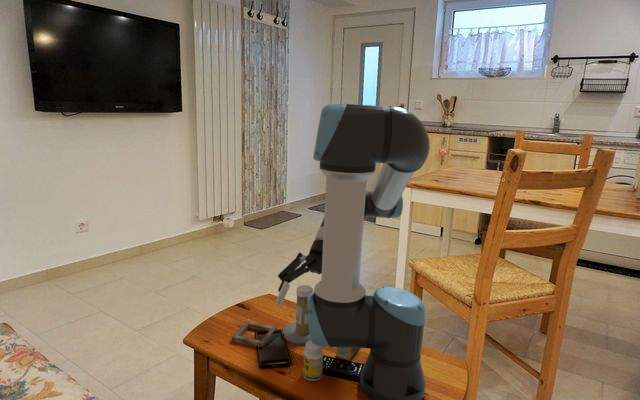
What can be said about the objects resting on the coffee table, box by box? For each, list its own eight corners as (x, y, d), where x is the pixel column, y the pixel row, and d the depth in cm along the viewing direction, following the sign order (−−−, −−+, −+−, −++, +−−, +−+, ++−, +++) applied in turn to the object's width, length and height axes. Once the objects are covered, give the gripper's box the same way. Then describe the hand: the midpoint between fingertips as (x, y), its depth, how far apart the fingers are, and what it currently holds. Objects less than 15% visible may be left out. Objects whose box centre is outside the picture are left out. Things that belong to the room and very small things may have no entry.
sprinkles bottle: (311, 335, 118) (313, 291, 116) (295, 335, 118) (297, 291, 115) (309, 327, 123) (311, 284, 120) (294, 327, 122) (295, 284, 119)
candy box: (350, 361, 109) (353, 307, 106) (335, 356, 111) (338, 302, 108) (363, 345, 116) (367, 294, 113) (349, 341, 118) (352, 290, 115)
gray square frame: (276, 331, 122) (276, 327, 121) (262, 348, 113) (262, 343, 112) (247, 325, 124) (247, 321, 124) (231, 341, 115) (231, 336, 115)
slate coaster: (325, 329, 124) (325, 326, 124) (313, 348, 114) (313, 344, 114) (291, 322, 127) (291, 319, 127) (276, 340, 117) (276, 336, 117)
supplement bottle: (300, 371, 104) (301, 340, 102) (318, 368, 105) (320, 337, 103) (305, 383, 99) (307, 350, 97) (324, 380, 101) (326, 348, 99)
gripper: (366, 258, 124) (342, 326, 114) (294, 243, 135) (267, 304, 125) (361, 246, 118) (335, 316, 108) (286, 231, 130) (256, 293, 120)
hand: (298, 309), depth 117 cm, fingers open, 13 cm apart
